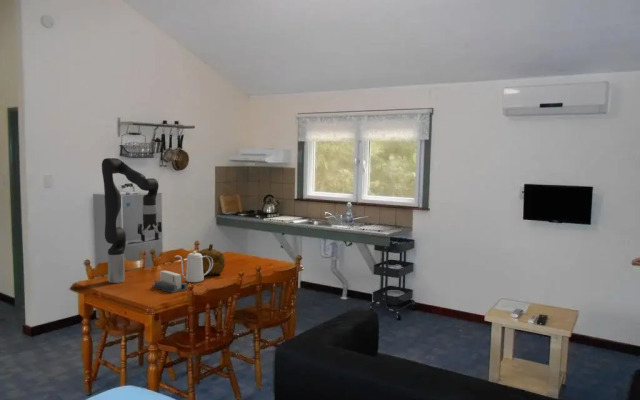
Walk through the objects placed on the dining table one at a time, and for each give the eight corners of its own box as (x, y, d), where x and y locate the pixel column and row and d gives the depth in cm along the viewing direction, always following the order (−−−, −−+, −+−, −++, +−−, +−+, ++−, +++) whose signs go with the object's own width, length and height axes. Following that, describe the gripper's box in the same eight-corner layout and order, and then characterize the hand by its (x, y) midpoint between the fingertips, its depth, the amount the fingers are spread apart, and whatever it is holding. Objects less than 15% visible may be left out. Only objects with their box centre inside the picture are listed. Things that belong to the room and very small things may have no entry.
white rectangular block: (160, 284, 309) (160, 271, 309) (165, 283, 312) (165, 270, 312) (176, 289, 299) (175, 275, 298) (181, 288, 302) (181, 274, 301)
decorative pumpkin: (186, 273, 339) (188, 243, 339) (207, 270, 358) (209, 241, 357) (210, 278, 330) (213, 247, 329) (230, 275, 348) (233, 245, 348)
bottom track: (152, 286, 308) (152, 281, 307) (170, 283, 317) (170, 277, 316) (171, 293, 295) (171, 287, 294) (189, 289, 304) (189, 283, 303)
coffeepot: (171, 281, 321) (171, 251, 319) (209, 276, 336) (209, 247, 334) (177, 285, 312) (177, 254, 311) (216, 280, 327) (216, 250, 325)
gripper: (156, 211, 309) (157, 238, 311) (134, 213, 299) (135, 241, 300) (164, 212, 305) (164, 239, 306) (141, 214, 294) (142, 242, 295)
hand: (149, 240), depth 303 cm, fingers open, 8 cm apart
